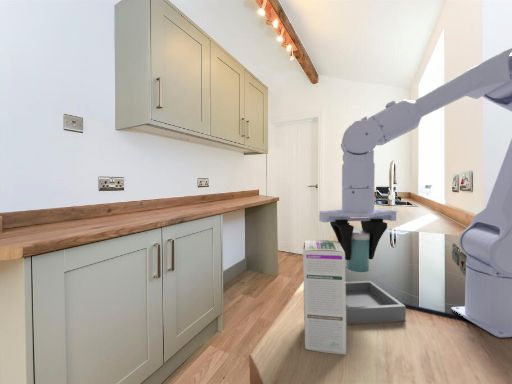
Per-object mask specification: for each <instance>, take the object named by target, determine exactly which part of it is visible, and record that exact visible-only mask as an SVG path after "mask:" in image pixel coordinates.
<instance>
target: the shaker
mask: <svg viewBox="0 0 512 384" xmlns="http://www.w3.org/2000/svg"><path fill="white" fill-rule="evenodd" d="M369 239H370V233H369V232H365V231H363V230H357V229H356V230H354V229H353V233H352V238H351V258H350V260H345V268H346V269H347V270H350V271H351V272H356V273H367V272H369V271H370V259H369Z"/></svg>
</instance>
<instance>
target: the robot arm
mask: <svg viewBox="0 0 512 384" xmlns="http://www.w3.org/2000/svg"><path fill="white" fill-rule="evenodd" d="M464 97H469V98H472V99H476V100H478V99H481V97H483V98H484V99H486V100H488V101H489V102H492V103H493V104H495V105H498V106H499V107H501V108H503V109H506V110H507V111H510V112H511V113H512V47H511V48H508V49H506V50H504V51H502V52H499V53H498V54H496V55H494V56H492V57H490V58H488V59H486V60H484V61H482V62H481V63H479V64H477V65H475V66H473V67H471V68H469V69H468V70H466V71H464V72H463V73H461V74H459V75H457V76H456V77H455V76H454V78H452V79H451V80H449V81H446V82H445V83H443V84H441V85H439V86H438V87H436V88H435V89H433V90H431V91H429V92H428V93H426V94H423V95H422V96H421V97H418V98H417V99H415V100H408V99H401V100H398V101H397V102H396V101H395V100H394V99H393V100H391V101H390V102H387V104H386V105H385V108H383V110H380V111H379V112H376V113H375V114H373V115H372V116H371V115H370V116H369V117H368V116H364V117H362V118H361V119H360V120H356V121H354V122H353V123H352V124H350V125H349V126H348V127H347V128H346V129H345V131H344V133H343V136H342V139H341V143H340V148H341V151H342V152H343V154H342V162H343V164H342V166H341V209H336V210H335V209H334V210H319V214H318V218H319V221H320V222H322V223H330V227H331V228H332V230H333V232H334V234H335V236H336V239H337V242H339V243H340V245H341V247H342V248H343V250H344V252H345V261H346V260H350V258H351V238H352V233H353V230H354V228H355V226H353V225H352V224H350V222H360V225H361V231H365V232H369V233H370V239H369V260H373V259H374V257H375V253H376V250H377V247H378V245H379V242H380V240H381V238H382V236H383V235H384V233H385V232H386V230H387V229H388V223H387V222H385V221H390V222H397V210H394V209H375V168H376V166H375V162H374V161H375V160H374V158H375V156H374V155H375V153H374V152H375V151H374V149H375V148H376V147H377V146H384V145H385V144H387V143H390V142H391V141H393V140H395V139H397V138H399V137H401V136H403V135H406V134H407V133H409V132H411V131H413V130H416V129H417V128H418V127H419V125H420V122H421V120H422V117H425V116H427V115H429V114H431V113H433V112H436V111H437V110H439V109H441V108H443V107H446V106H447V105H450V104H452V103H454V102H456V101H458V100H460V99H462V98H464ZM471 220H472V221H471V223H470V224H469V225H468V226H467V228H465V229H464V230H463V231H462V232H461V233H460V234H459V235H460V236H459V238H458V244H459V247H460V249H461V251H462V252H463V253H464V254H465V255H466V260H465V288H464V289H465V291H464V293H465V295H464V306H452V307H451V308H450V309H452V310H453V312H454V311H455V312H454V313H456V312H457V313H458V315H459V314H460V315H459V316H461V317H462V316H463V318H464V319H466V320H467V321H469V322H471V323H473V324H474V325H476V326H478V327H479V328H481V329H482V330H485V332H488V333H489V334H491V335H493V336H495V337H497V338H502V339H503V338H511V337H512V138H511V140H510V142H509V144H508V148H507V150H506V152H505V156H504V158H503V161H502V164H501V167H500V169H499V171H498V174H497V176H496V179H495V182H494V184H493V187H492V190H491V193H490V195H489V198H488V201H487V204H486V207H485V208H484V209H482V210H481V211H479V212H478V213H477V214H475V215H474V216H473V218H472V219H471ZM319 221H318V222H319ZM452 310H451V311H452ZM457 313H456V314H457Z"/></svg>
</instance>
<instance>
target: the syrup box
mask: <svg viewBox="0 0 512 384" xmlns="http://www.w3.org/2000/svg"><path fill="white" fill-rule="evenodd" d="M302 259H303V260H302V261H303V263H302V268H303V269H302V270H303V316H304V317H303V318H304V319H303V320H304V321H303V322H304V323H303V324H304V329H303V330H304V348H305V350H307V351H308V350H309V351H313V352H318V353H320V352H321V353H327V354H328V353H329V354H336V355H345V356H346V355H347V324H346V285H345V282H346V260H345V252H344V250H343V248H342V247H341V245H340V243H339V242H338V241H335V240H327V239H317V240H316V239H315V240H314V239H313V240H304V241H303V248H302Z"/></svg>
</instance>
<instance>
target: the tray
mask: <svg viewBox="0 0 512 384" xmlns="http://www.w3.org/2000/svg"><path fill="white" fill-rule="evenodd" d="M345 285H346V325H357V324H359V325H360V324H370V323H371V324H375V323H385V322H386V323H387V322H404V321H406V318H407V317H406V316H407V315H406V314H407V313H406V312H407V310H406V309H407V307H406V305H405V304H403V303H402V302H400V301H399V300H398V299H396V298H395V297H394V296H392V295H391V294H390V293H388V291H385V290H384V289H383V288H381V287H380V286H378V285H377V284H376V283H374V282H373V281H372V280H363V281H362V280H361V281H360V280H359V281H345Z"/></svg>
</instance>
